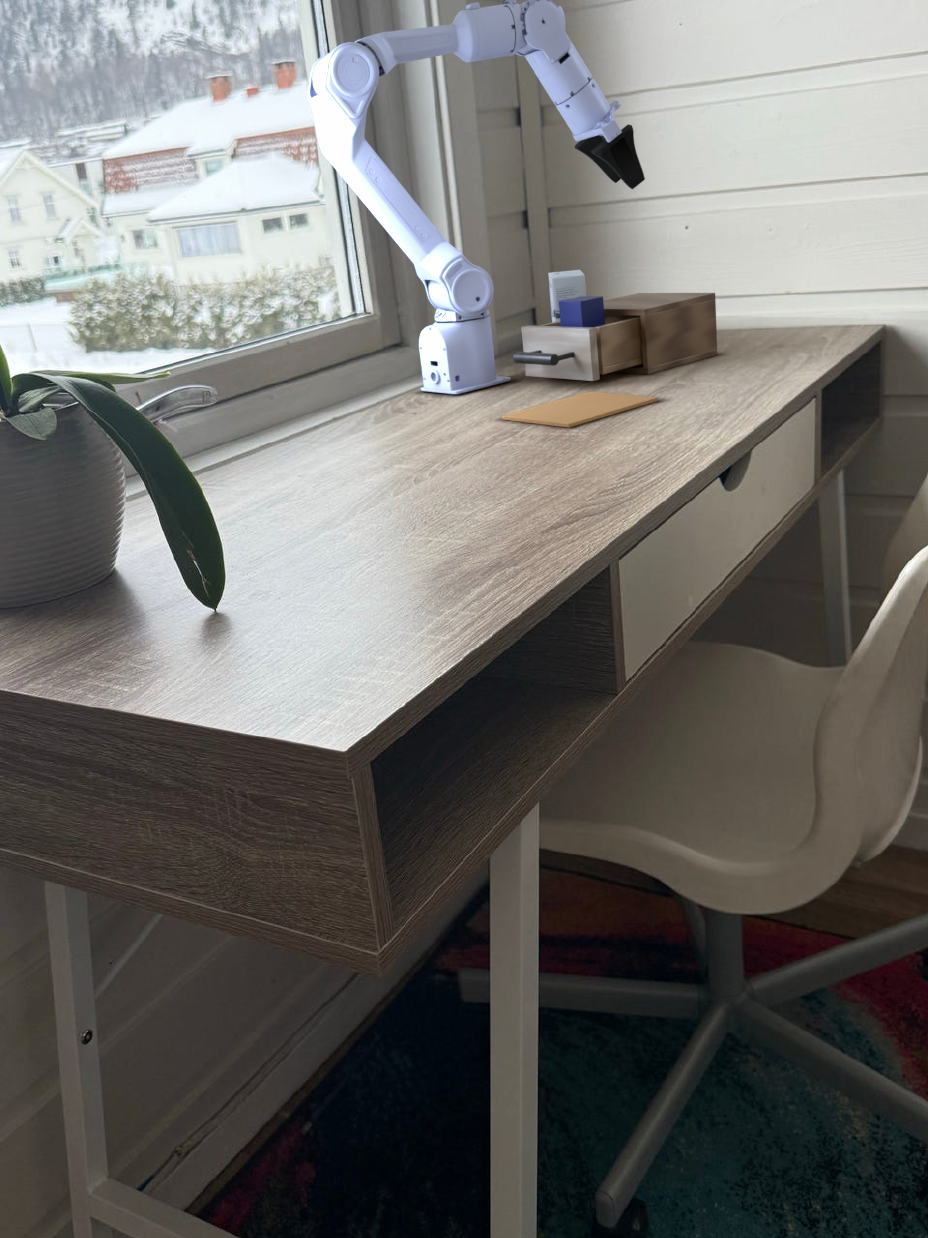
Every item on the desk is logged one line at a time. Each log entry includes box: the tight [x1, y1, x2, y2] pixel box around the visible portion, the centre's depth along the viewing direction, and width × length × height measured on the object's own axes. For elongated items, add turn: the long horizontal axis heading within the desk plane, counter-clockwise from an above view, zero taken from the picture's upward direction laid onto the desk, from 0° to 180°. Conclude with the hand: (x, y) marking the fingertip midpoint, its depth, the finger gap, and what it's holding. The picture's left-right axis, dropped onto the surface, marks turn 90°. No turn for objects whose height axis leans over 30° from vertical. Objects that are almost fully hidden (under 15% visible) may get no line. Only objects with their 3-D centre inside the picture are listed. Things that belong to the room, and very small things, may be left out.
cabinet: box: [603, 292, 718, 375], centre depth 153 cm, size 14×14×8 cm
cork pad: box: [501, 390, 659, 429], centre depth 129 cm, size 14×11×1 cm
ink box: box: [547, 269, 587, 323], centre depth 164 cm, size 8×5×12 cm, turn 179°
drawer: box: [512, 315, 643, 382], centre depth 146 cm, size 17×12×6 cm
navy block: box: [559, 295, 605, 327], centre depth 146 cm, size 4×4×8 cm
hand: (629, 180), depth 152 cm, fingers open, 7 cm apart
